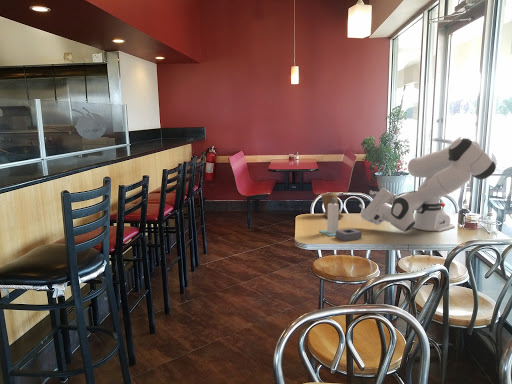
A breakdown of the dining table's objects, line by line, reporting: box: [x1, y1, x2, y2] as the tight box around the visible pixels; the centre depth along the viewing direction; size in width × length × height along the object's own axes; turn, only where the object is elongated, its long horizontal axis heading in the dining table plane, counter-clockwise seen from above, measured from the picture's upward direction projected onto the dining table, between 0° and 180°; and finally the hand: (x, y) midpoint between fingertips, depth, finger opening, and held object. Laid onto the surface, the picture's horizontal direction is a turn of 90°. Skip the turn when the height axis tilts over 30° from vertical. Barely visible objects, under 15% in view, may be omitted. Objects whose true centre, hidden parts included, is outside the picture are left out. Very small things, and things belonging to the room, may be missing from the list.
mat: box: [318, 229, 336, 238], centre depth 214 cm, size 10×10×1 cm
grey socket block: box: [335, 228, 362, 242], centre depth 205 cm, size 10×8×4 cm
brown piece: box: [320, 191, 344, 220], centre depth 248 cm, size 15×12×15 cm
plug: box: [326, 198, 340, 233], centre depth 212 cm, size 4×4×18 cm
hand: (365, 198), depth 226 cm, fingers open, 8 cm apart
